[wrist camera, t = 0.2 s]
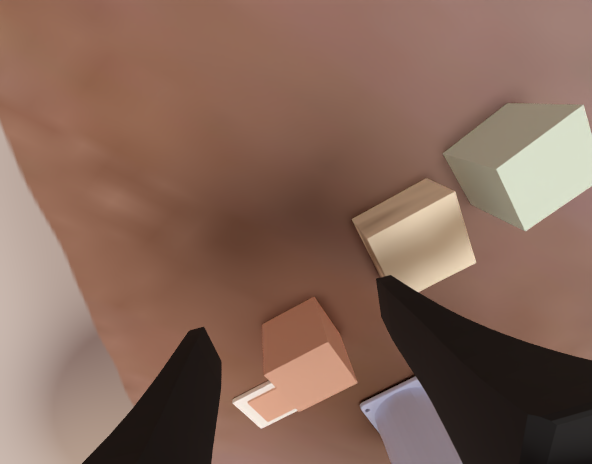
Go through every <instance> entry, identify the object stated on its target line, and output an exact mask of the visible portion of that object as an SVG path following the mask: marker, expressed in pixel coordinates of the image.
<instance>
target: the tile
mask: <svg viewBox="0 0 592 464" xmlns="http://www.w3.org/2000/svg"><path fill="white" fill-rule="evenodd" d="M233 404H234V405H235V406H236V407H237V408H239V409H240V410H241V411H242V412H243V413H244V414H245V415H246V416H248V417H249V418H250V419H251V420H252V421H253V422H254V423H255V424H256V425H258V426H259V427H260V428H261V429H262V428H264V427H266V426H268V425H270V424H272V423H274V422H276V421H278V420H280V419H282V418H284V417H286V416H288V415H290V414H292V413H294V412H296V411H298V410H297V409H296V408H295V407H294V406H293V405H292V404H291V403H290V402H289V401H288V400H287V399H286V398H285V397H284V396H283V395H282V394H281V393H280V392H279V391H278V389H277V388H276V387H275V386H274V385H273V384H272V383H271V382H270V381H267V382H265V383H263V384H261V385H259V386H257V387H255V388H253V389H251V390H249V391H247V392H245V393H243V394H242V395H240V396H238V397H236V398H234V399H233Z"/></svg>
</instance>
